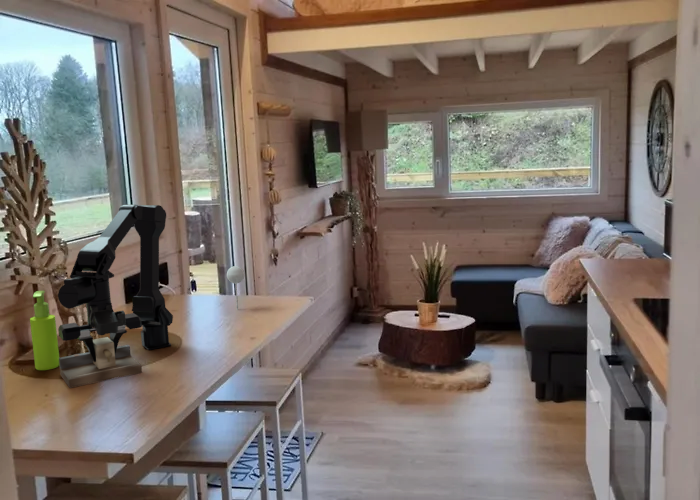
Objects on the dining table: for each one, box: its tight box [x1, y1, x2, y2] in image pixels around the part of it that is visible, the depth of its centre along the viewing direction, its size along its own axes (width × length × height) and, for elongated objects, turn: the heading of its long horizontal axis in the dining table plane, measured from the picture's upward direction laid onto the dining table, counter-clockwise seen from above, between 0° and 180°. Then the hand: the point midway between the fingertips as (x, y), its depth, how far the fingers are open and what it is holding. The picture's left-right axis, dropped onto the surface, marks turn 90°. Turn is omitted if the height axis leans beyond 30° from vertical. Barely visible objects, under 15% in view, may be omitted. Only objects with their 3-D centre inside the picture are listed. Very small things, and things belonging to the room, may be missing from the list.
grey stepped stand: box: [59, 344, 143, 389], centre depth 166 cm, size 17×11×5 cm, turn 124°
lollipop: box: [226, 265, 245, 311], centre depth 225 cm, size 6×6×15 cm
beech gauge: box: [93, 336, 116, 369], centre depth 165 cm, size 4×9×6 cm, turn 34°
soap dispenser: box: [29, 290, 60, 371], centre depth 171 cm, size 6×7×20 cm
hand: (103, 359), depth 167 cm, fingers closed on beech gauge, 4 cm apart
